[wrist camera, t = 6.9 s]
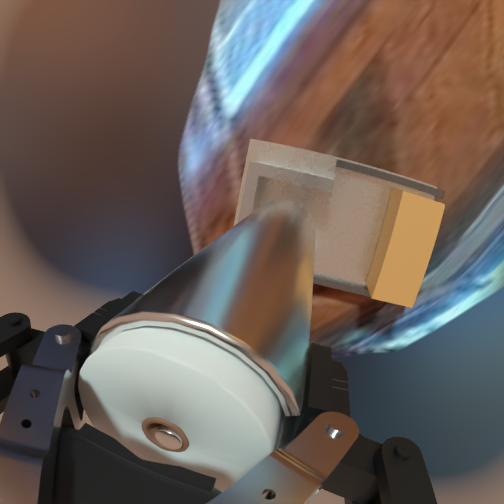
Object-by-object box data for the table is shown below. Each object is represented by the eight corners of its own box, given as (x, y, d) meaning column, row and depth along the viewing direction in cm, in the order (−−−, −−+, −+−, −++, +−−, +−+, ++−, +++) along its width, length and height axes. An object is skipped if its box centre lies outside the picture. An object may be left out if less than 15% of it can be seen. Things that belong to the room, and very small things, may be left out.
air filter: (290, 277, 31) (216, 518, 8) (236, 239, 31) (55, 414, 8) (329, 225, 29) (357, 442, 6) (273, 185, 29) (98, 271, 6)
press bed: (439, 188, 39) (457, 192, 33) (404, 301, 44) (415, 320, 38) (252, 139, 43) (242, 135, 37) (229, 258, 48) (217, 272, 42)
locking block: (430, 199, 38) (445, 204, 33) (402, 292, 42) (412, 307, 37) (392, 187, 39) (403, 190, 34) (365, 283, 43) (371, 298, 38)
